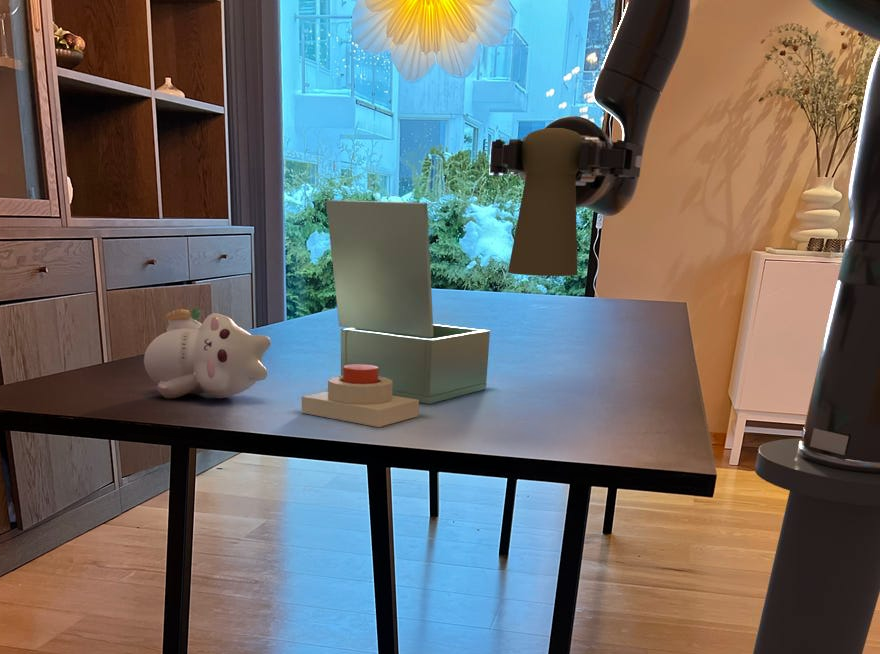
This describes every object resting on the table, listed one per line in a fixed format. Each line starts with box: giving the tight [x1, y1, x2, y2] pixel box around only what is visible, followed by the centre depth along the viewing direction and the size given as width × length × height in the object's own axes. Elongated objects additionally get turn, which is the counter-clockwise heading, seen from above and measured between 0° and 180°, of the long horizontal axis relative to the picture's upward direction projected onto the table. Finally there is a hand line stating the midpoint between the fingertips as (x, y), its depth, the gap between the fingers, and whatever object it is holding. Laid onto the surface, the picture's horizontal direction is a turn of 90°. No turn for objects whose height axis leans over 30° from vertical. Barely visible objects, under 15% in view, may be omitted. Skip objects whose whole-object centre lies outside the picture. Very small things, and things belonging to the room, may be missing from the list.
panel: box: [301, 375, 420, 428], centre depth 93 cm, size 10×7×4 cm
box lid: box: [325, 199, 434, 337], centre depth 96 cm, size 13×13×1 cm
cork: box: [507, 127, 583, 277], centre depth 76 cm, size 6×6×11 cm
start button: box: [343, 364, 378, 384], centre depth 92 cm, size 4×4×2 cm
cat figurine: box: [143, 307, 272, 399], centre depth 98 cm, size 10×8×15 cm
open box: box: [340, 323, 491, 405], centre depth 106 cm, size 13×13×7 cm
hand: (548, 154), depth 72 cm, fingers closed on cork, 5 cm apart
